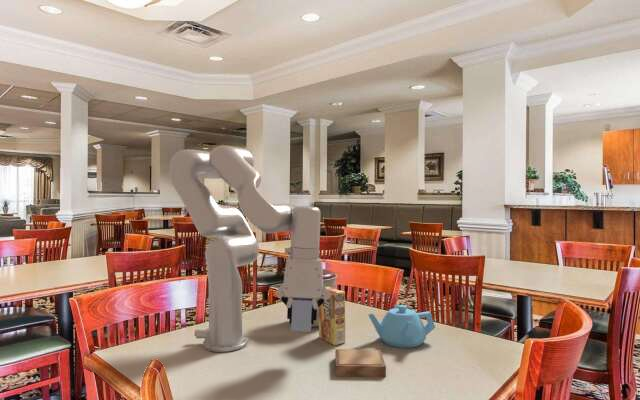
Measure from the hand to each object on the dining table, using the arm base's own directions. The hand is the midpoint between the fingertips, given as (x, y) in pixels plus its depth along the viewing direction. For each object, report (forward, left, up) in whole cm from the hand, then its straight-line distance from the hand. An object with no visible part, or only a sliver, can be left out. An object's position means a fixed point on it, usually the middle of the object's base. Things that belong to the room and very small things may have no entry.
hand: (301, 321), depth 110 cm
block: (0, 0, -2) cm, 2 cm away
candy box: (+8, +17, -11) cm, 21 cm away
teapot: (+29, +17, -11) cm, 35 cm away
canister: (+1, +34, -11) cm, 35 cm away
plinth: (+15, -3, -10) cm, 19 cm away
